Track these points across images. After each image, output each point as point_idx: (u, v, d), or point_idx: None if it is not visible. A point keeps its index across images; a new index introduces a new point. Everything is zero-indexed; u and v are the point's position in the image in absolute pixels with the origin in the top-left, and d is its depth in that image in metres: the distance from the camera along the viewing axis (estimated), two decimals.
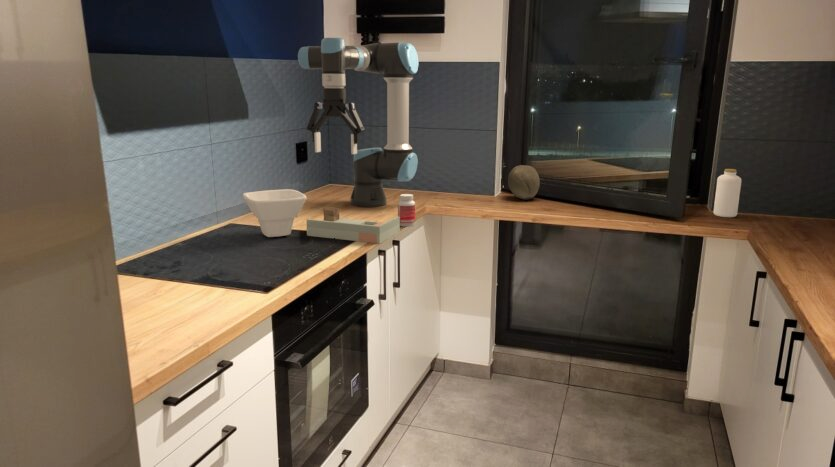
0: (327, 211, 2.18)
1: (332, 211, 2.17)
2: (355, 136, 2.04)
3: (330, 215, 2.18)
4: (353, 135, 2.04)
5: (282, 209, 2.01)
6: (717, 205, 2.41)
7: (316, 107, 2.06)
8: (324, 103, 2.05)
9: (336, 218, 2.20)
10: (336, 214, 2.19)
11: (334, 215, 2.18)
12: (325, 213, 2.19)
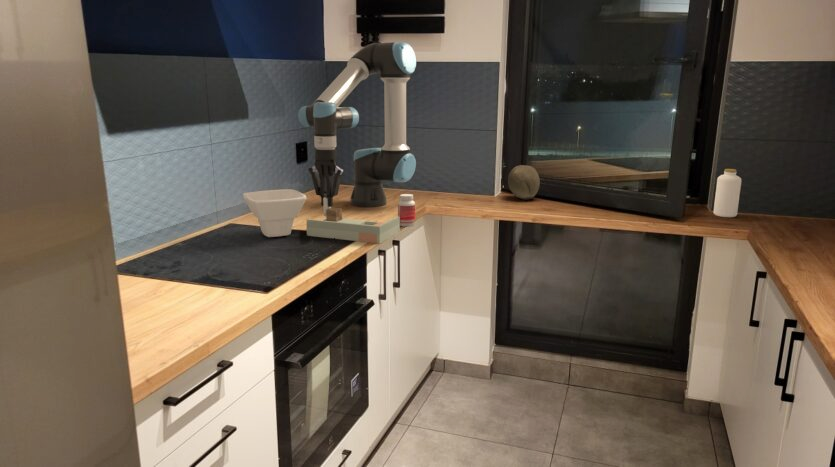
0: (330, 211, 2.18)
1: (335, 211, 2.17)
2: (329, 200, 2.18)
3: (333, 215, 2.18)
4: (327, 199, 2.18)
5: (282, 209, 2.01)
6: (717, 205, 2.41)
7: (312, 171, 2.18)
8: (315, 163, 2.17)
9: (339, 218, 2.19)
10: (338, 214, 2.19)
11: (337, 215, 2.18)
12: (328, 213, 2.18)
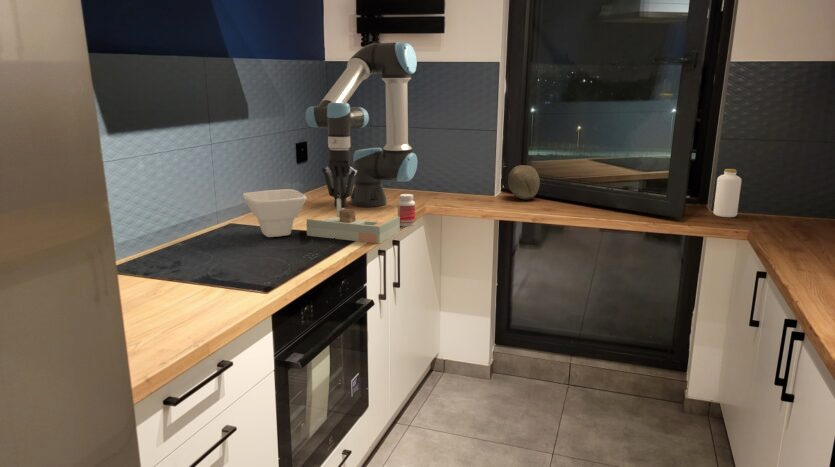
0: (343, 213, 2.16)
1: (348, 213, 2.15)
2: (342, 201, 2.16)
3: (346, 217, 2.16)
4: (340, 200, 2.16)
5: (282, 209, 2.01)
6: (717, 205, 2.41)
7: (325, 172, 2.16)
8: (329, 164, 2.15)
9: (352, 220, 2.17)
10: (352, 216, 2.17)
11: (350, 217, 2.16)
12: (341, 215, 2.16)
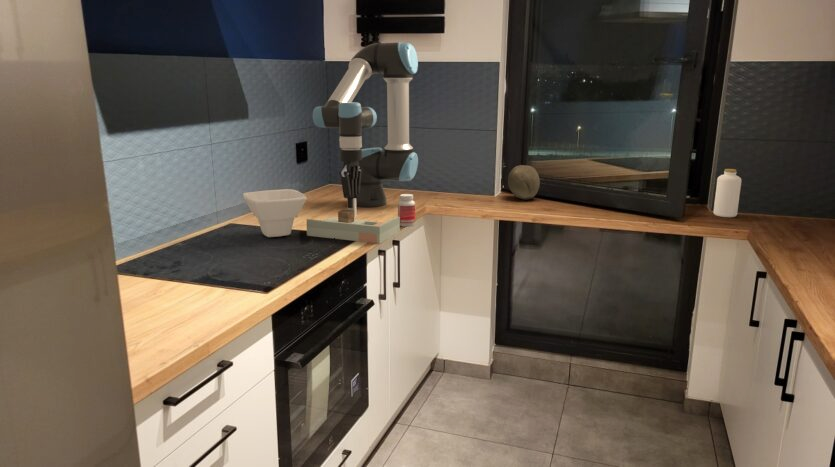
0: (342, 213, 2.14)
1: (347, 213, 2.14)
2: None
3: (345, 217, 2.14)
4: None
5: (282, 209, 2.01)
6: (717, 205, 2.41)
7: None
8: None
9: (351, 221, 2.16)
10: (350, 216, 2.15)
11: (349, 217, 2.14)
12: (340, 215, 2.15)
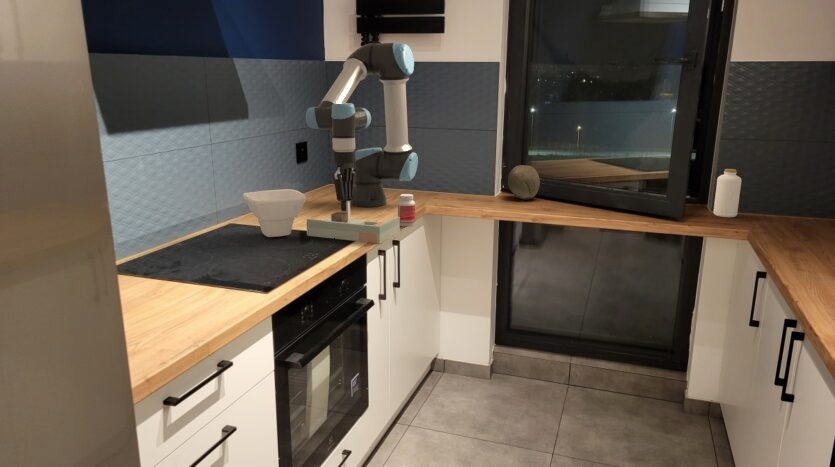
0: (335, 216, 2.10)
1: (340, 216, 2.09)
2: None
3: (338, 220, 2.10)
4: None
5: (282, 209, 2.01)
6: (717, 205, 2.41)
7: None
8: None
9: None
10: (344, 219, 2.11)
11: (342, 220, 2.10)
12: (333, 218, 2.11)
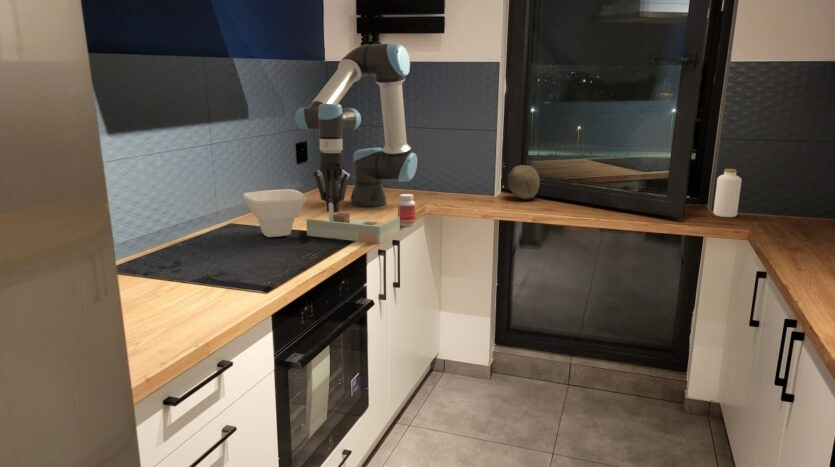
0: (337, 217, 2.09)
1: (342, 217, 2.09)
2: (335, 205, 2.09)
3: (340, 221, 2.09)
4: (333, 204, 2.09)
5: (282, 209, 2.01)
6: (717, 205, 2.41)
7: (317, 176, 2.09)
8: (320, 167, 2.08)
9: None
10: (346, 220, 2.10)
11: (344, 221, 2.09)
12: (335, 219, 2.10)
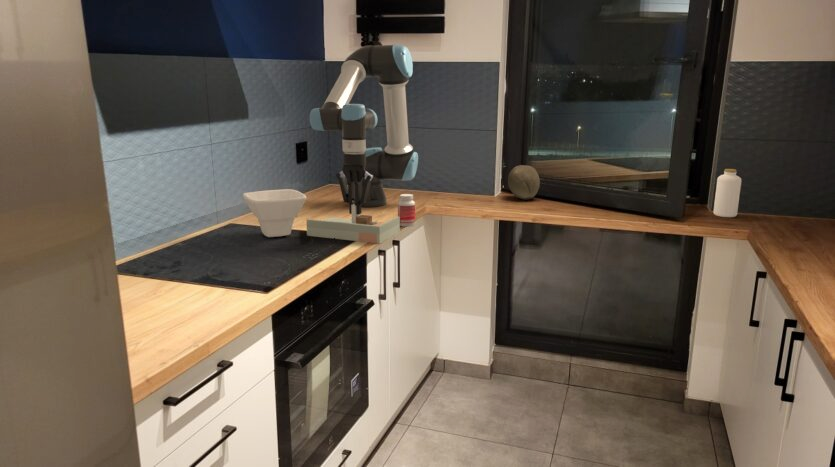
0: (360, 219, 2.06)
1: (365, 219, 2.05)
2: (357, 207, 2.06)
3: (363, 223, 2.06)
4: (355, 206, 2.06)
5: (282, 209, 2.01)
6: (717, 205, 2.41)
7: (339, 177, 2.06)
8: (343, 168, 2.04)
9: None
10: (369, 222, 2.07)
11: (367, 223, 2.06)
12: (357, 221, 2.07)
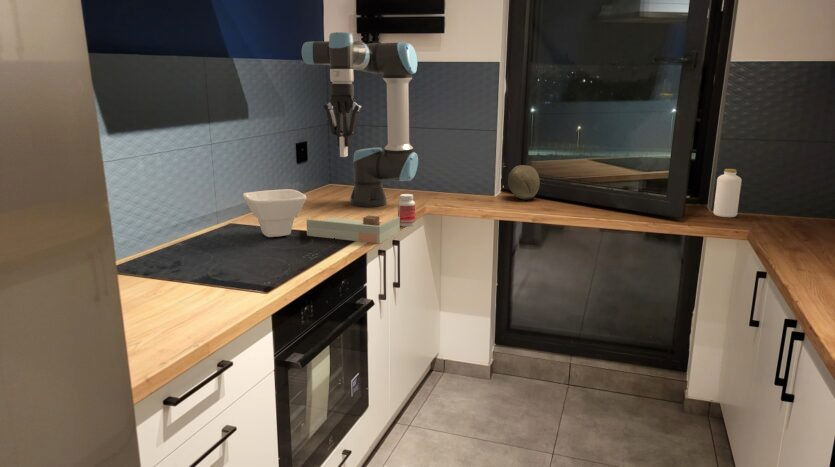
0: (367, 220, 2.05)
1: (372, 220, 2.04)
2: (346, 139, 2.04)
3: (370, 224, 2.05)
4: (344, 138, 2.04)
5: (282, 209, 2.01)
6: (717, 205, 2.41)
7: (327, 108, 2.04)
8: (331, 99, 2.03)
9: None
10: (376, 223, 2.06)
11: (374, 224, 2.05)
12: (365, 222, 2.06)
